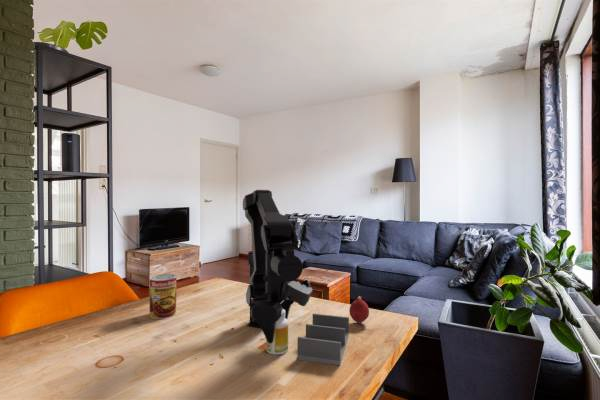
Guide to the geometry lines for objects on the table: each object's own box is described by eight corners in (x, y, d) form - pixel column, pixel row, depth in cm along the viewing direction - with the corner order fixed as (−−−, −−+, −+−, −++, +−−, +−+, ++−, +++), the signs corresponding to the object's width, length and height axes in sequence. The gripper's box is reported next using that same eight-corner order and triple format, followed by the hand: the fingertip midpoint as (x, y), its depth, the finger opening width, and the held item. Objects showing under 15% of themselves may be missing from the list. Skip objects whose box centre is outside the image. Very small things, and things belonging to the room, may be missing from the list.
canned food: (153, 321, 95) (153, 281, 95) (146, 313, 101) (146, 276, 101) (179, 315, 100) (179, 277, 100) (172, 308, 106) (172, 272, 106)
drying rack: (297, 359, 73) (297, 337, 73) (313, 331, 88) (313, 313, 88) (340, 365, 70) (340, 343, 70) (348, 335, 85) (348, 317, 85)
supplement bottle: (291, 346, 79) (291, 308, 79) (283, 357, 74) (283, 315, 74) (271, 343, 81) (271, 305, 81) (262, 353, 76) (262, 313, 76)
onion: (369, 328, 90) (369, 300, 90) (348, 326, 91) (349, 299, 91) (368, 320, 96) (369, 294, 96) (349, 319, 97) (350, 293, 97)
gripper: (298, 283, 66) (298, 357, 66) (317, 265, 84) (317, 323, 84) (249, 279, 69) (249, 350, 69) (278, 262, 87) (278, 318, 87)
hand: (277, 334), depth 77 cm, fingers open, 9 cm apart
